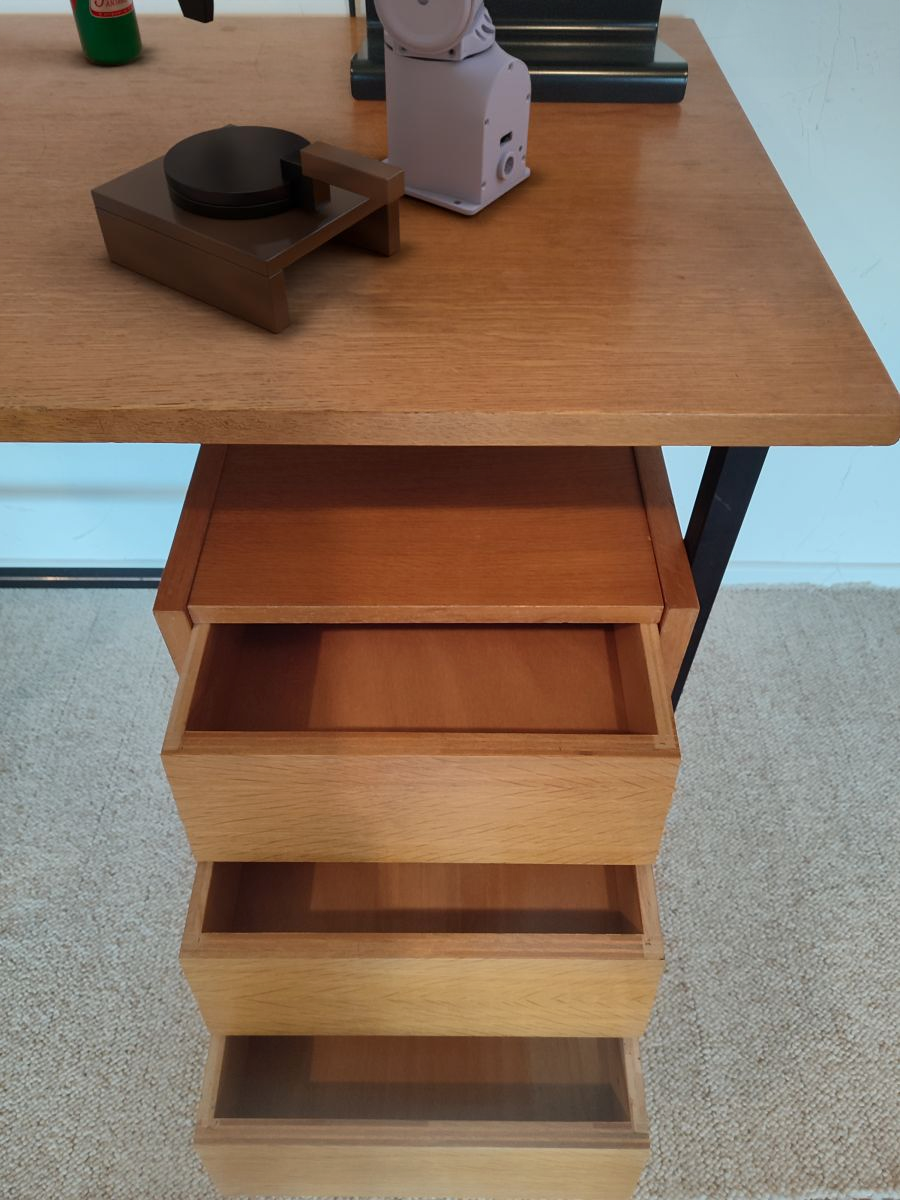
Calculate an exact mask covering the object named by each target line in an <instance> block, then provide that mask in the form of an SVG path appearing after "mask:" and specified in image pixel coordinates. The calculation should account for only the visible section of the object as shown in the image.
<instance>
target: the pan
mask: <svg viewBox="0 0 900 1200" xmlns="http://www.w3.org/2000/svg"><path fill="white" fill-rule="evenodd" d="M223 127H224V126H223ZM165 154H166V155H165ZM165 154H164V155H165V157H164V161H163V167H164V172H165V176H166V180H167V186H168V190H169V194H170V196H171V198H172V199H173V200H174V202H176V203H177V204H178V205H179V206H181V207H182V208H184V209H186V210H188V211H190V212H192V213H195V214H198V215H202V216H206V217H212V218H218V219H236V220H239V219H254V218H262V217H268V216H272V215H276V214H280V213H283V212H286V211H289V210H291V209H294V208H296V207H298V206H300V205H301V206H304V207H307V208H309V209H312V210H315V211H317V210H318V209H320V208H322V207H323V206H325V205H327V204H328V203H330V202H331V194H330V185H333V186H336V187H338V188H341V189H344V190H347V191H350V192H353V193H355V194H358V195H361V196H364V197H367V198H369V199H372V200H375V201H378V202H381V203H384V204H386V205H388V204H390V203H391V202H393V201H395V200H396V199H398V198H399V199H400V198H401V197H403V196H404V195H406V194H405V180H404V169H402V168H399V167H396V166H393V165H390V164H387V163H384V162H381V160H378V159H375V158H371V157H369V156H366V155H363V154H360V153H357V152H354V151H351V150H348V149H345V148H342V147H339V146H335V145H333V144H329V143H327V142H324V141H321V140H316V141H315V142H313V143H312V142H311V141H309V140H308V139H307V138H305V137H304V136H302V135H300V134H298V133H295V132H294V131H293V132H292V131H290V130H285V129H282V128H281V129H280V128H278V127H272V126H271V127H270V126H262V125H236V126H233V127H224V128H222V127H219V128H214V129H213V128H212V129H209V130H205V131H202V132H201V131H200V132H199V133H195V134H192V135H191V136H188V137H185V138H184V139H182V140H179V141H178V142H177V143H175V144H174V145H173V146H171V147H170V148H169V149H168V151H167V152H166V153H165Z"/></svg>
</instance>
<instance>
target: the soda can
mask: <svg viewBox="0 0 900 1200" xmlns="http://www.w3.org/2000/svg"><path fill="white" fill-rule="evenodd" d="M69 5H70V8H71V11H72V15H73V19H74V23H75V27H76V31H77V35H78V39H79V42H80V47H81V51H82V53H83V55H84V56H85V57H86V58H87V59H88V60H89V61H90V62H92V63H93V64H97V65H101V66H111V67H112V66H121V65H125V64H126V65H127V64H130V63H131V62H134V61H135V60H137V59H138V58H139V57H140V55H141V54H142V51H143V47H144V45H143V41H142V35H141V32H140V27H139V22H138V18H137V14H136V8H135V3H134V0H69Z"/></svg>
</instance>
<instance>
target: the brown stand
mask: <svg viewBox="0 0 900 1200" xmlns="http://www.w3.org/2000/svg"><path fill="white" fill-rule="evenodd" d="M233 126H237V125H236V124H233V123H229V124H226V125H224V126H222V127H221V128H224V127H233ZM165 155H166V153H165V154H163V155H161V156H159V157H157V158H155V159H153V160H150V161H148V162H146V163H144V164H142V165H140V166H138V167H136V168H134V169H131V170H130V171H128V172H126V173H123V174H121V175H120V176H117V177H115V178H113V179H111V180H108V181H107V182H104V183H102V184H101V185H98V186H96V187H94V188H91V189H90V195H91V198H92V201H93V205H94V210H95V214H96V216H97V220H98V224H99V227H100V231H101V235H102V238H103V242H104V246H105V249H106V252H107V256H108V260H109V261H111V262H113V263H115V264H117V265H120V266H122V267H124V268H126V269H129V270H131V271H134V272H136V273H137V274H140V275H142V276H145V277H147V278H148V279H151V280H154V281H156V282H158V283H161V284H164V285H165V286H168V287H170V288H172V289H174V290H177V291H179V292H180V293H183V294H185V295H187V296H190V297H193V298H195V299H197V300H199V301H202V302H204V303H206V304H209V305H210V306H213V307H215V308H218V309H219V310H222V311H224V312H227V313H229V314H231V315H232V316H236V317H238V318H240V319H242V320H245V321H247V322H250V323H252V324H254V325H256V326H259V327H261V328H263V329H265V330H267V331H270V332H271V333H275V334H279V333H280V332H281V331H283V330H284V329H286V328H287V327H289V326H290V325H291V322H290V321H291V319H290V313H289V305H288V299H287V298H288V297H287V289H286V281H285V274H284V269H285V268H286V267H288V266H290V265H291V264H293V263H294V262H296V261H298V260H300V258H302V257H303V256H305V255H307V254H309V253H310V252H312V251H313V250H315V249H317V248H318V247H319V246H321V245H323V244H324V243H326V242H328V241H329V240H330V239H332V238H334V237H337V238H339V239H342V240H344V241H348V242H350V243H353V244H355V245H358V246H360V247H362V248H365V249H368V250H370V251H371V250H372V251H374V252H377V253H379V254H382V255H384V256H387V257H391V256H392V255H394V254H396V253H397V252H399V251H400V250H401V225H400V224H401V223H400V221H401V220H400V197H399V198H398V199H396V200H395V201H393V202H391V203H390V204H388V205H386V204H384V203H381V202H378V201H375V200H372V199H369V198H367V197H364V196H361V195H358V194H355V193H353V192H350V191H347V190H344V189H341V188H338V187H336V186H333V185H330V194H331V202H330V203H328V204H327V205H325V206H323V207H322V208H320V209H318V210H317V211H315V210H312V209H309V208H307V207H304V206H301V205H300V206H298V207H296V208H294V209H291V210H289V211H286V212H283V213H280V214H276V215H272V216H268V217H262V218H254V219H239V220H236V219H218V218H212V217H206V216H202V215H198V214H195V213H192V212H190V211H188V210H186V209H184V208H182V207H181V206H179V205H178V204H177V203H176V202H174V200H173V199H172V198H171V196H170V194H169V190H168V186H167V180H166V176H165V172H164V167H163V161H164V157H165Z"/></svg>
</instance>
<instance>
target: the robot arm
mask: <svg viewBox="0 0 900 1200" xmlns="http://www.w3.org/2000/svg"><path fill="white" fill-rule="evenodd" d="M484 2H485V1H484V0H373V4H374V7H375V11H376V14H377V18H378V20H379V21H380V24H381V25H382V27H383V40H384V42H383V43H384V44H383V45H384V72H385V73H384V74H385V75H384V76H385V102H386V103H385V104H386V129H387V130H386V134H387V135H386V136H387V158H384V159H383V160H382V161H381V160H380V161H381V162H384V163H387V164H390V165H393V166H396V167H399V168H402V169H404V180H405V194H404V195H407V196H409V197H412V198H416V199H417V200H418V199H419V200H421V201H425V202H427V203H431V204H433V205H436V206H439V207H441V208H445V209H448V210H451V211H454V212H456V213H458V214H463V215H465V216H474V215H475V214H477V213H478V212H480V211H482V210H483V209H484V208H486V207H487V206H489V205H490V204H491V203H493V202H494V201H496V200H498V199H499V198H500V197H502V195H504V194H506V193H507V192H509V191H511V189H513V188H514V187H515V186H517V185H518V184H520V183H521V182H523V181H524V180H526V179H527V178H528V177H530V176H531V169H530V168H529V167H527V166H526V165H527V163H526V162H527V151H528V138H529V137H528V136H529V124H530V112H531V99H532V81H531V75H530V71H529V69H528V66H527V64H526V63H525V62H524V61H522V60H521V59H520V58H517V57H515V56H513V55H511V54H509V53H508V52H506V51H505V50H504V49H502V48H501V46H500V45H499V44H498V42H497V41H496V26H495V25H494V24H493V20H492V17H491V16H490V13H489V11H488V9H487V7H485V3H484ZM177 3H178V5H179V8H180V10H181V13H182V17H183V18H185V19H189V20H192V21H196V22H198V23H201V24H209V23H211V22H214V18H215V17H214V16H215V0H177Z"/></svg>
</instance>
